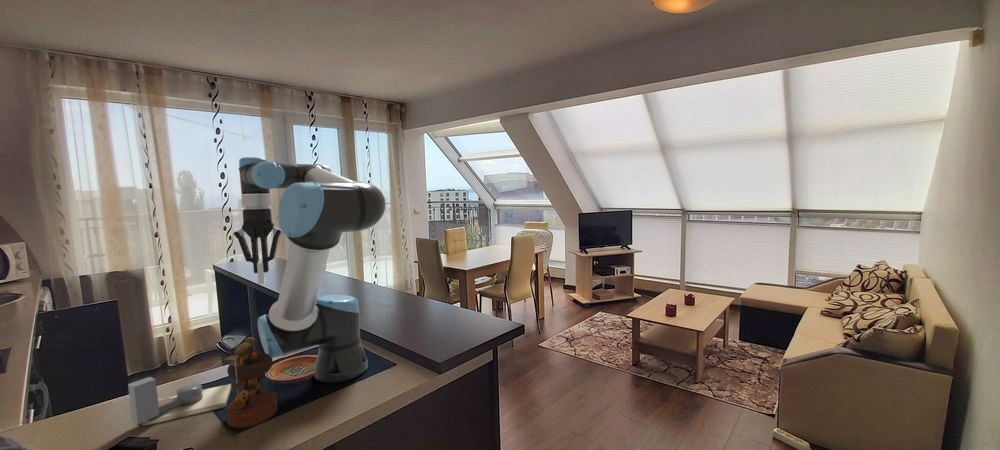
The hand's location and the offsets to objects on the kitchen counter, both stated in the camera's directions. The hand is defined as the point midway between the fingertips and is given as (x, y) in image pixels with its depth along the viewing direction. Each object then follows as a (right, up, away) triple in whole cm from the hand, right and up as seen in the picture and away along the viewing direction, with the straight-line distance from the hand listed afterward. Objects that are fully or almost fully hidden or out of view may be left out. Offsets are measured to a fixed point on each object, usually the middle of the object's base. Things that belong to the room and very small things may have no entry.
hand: (262, 282), depth 120 cm
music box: (+14, -29, -25) cm, 41 cm away
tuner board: (-5, -29, -22) cm, 36 cm away
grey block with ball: (-7, -27, -25) cm, 38 cm away
